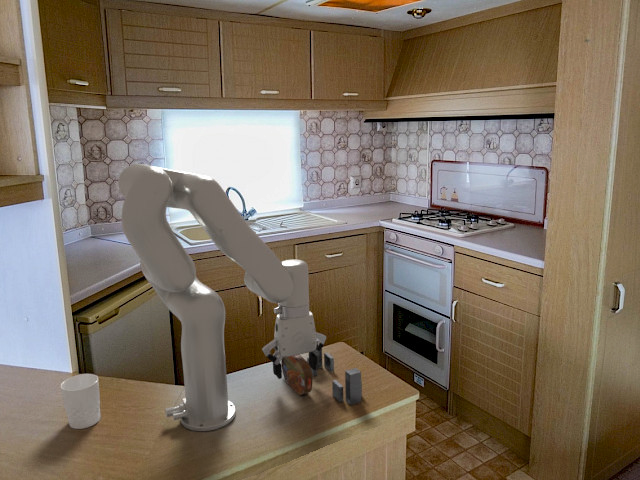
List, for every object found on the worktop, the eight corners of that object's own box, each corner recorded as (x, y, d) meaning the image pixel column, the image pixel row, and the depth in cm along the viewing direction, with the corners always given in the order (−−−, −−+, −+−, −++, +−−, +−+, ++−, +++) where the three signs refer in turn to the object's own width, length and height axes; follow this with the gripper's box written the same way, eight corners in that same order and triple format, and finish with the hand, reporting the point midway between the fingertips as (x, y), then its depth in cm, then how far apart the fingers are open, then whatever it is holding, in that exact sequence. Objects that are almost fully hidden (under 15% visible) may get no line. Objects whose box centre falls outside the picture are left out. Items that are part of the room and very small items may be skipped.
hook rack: (344, 407, 123) (344, 376, 121) (303, 367, 143) (302, 340, 142) (366, 400, 126) (366, 370, 124) (323, 362, 146) (323, 335, 144)
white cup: (103, 408, 125) (98, 371, 122) (102, 426, 117) (97, 386, 115) (67, 416, 122) (62, 377, 120) (64, 434, 115) (58, 393, 112)
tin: (280, 375, 139) (279, 346, 137) (291, 372, 141) (290, 344, 139) (303, 401, 126) (302, 369, 124) (315, 398, 127) (314, 366, 125)
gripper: (266, 320, 121) (269, 386, 125) (331, 308, 129) (332, 370, 133) (256, 310, 128) (258, 373, 132) (318, 299, 135) (319, 359, 139)
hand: (295, 372), depth 132 cm, fingers open, 9 cm apart
